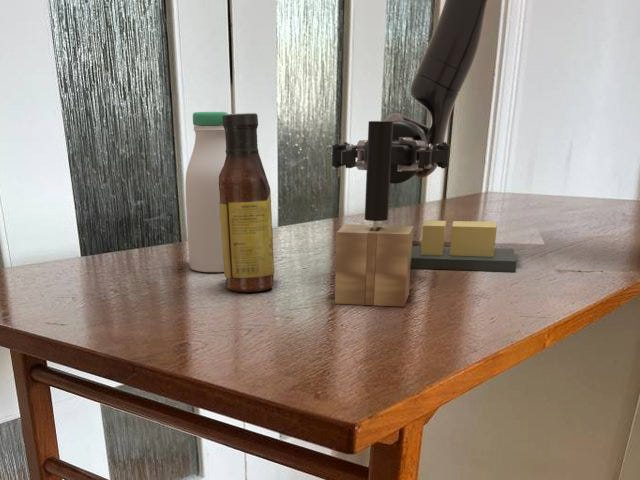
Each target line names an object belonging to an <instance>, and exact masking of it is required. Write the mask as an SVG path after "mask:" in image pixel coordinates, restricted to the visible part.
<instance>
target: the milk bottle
mask: <svg viewBox="0 0 640 480" xmlns="http://www.w3.org/2000/svg"><path fill="white" fill-rule="evenodd" d="M225 114H228V112H226V111H196V112H193V113H192V124H193V131H194V133H195V134H194V135H195V136H194V137H195V138H194V145H193V149H192V153H191V156H190V159H189V161H188V165H187V166H186V172H185V184H184V185H185V186H184V187H185V188H184V189H185V190H184V191H185V211H186V212H185V215H186V231H187V249H188V263H189V267H190V269H191V270H193V271H197V272H202V273H224V262H223V248H222V233H221V219H220V206H219V202H220V191H219V175H220V172H221V170H222V168H223V166H224V163H225V160H226V152H225V151H226V136H225V129H224V127H223V115H225Z"/></svg>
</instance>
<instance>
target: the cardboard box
mask: <svg viewBox="0 0 640 480" xmlns="http://www.w3.org/2000/svg"><path fill="white" fill-rule="evenodd" d="M335 233H336V234H335V235H336V237H335V238H336V240H335V279H334V280H335V281H334V304H335V305H336V304H337V305H355V306H356V305H357V306H375V307H399V308H405V306H406V303H407V301H408V298H409V296H410V281H411V270H412V268H411V254H412V246H413V238H414V237H413V236H414V226H413V225H389V224H387V225H386V224H384V225H383V224H378V231H373V224H344V225H343V226H341V228H340V229H338V230H337V231H336V232H335Z"/></svg>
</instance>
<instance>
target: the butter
mask: <svg viewBox="0 0 640 480" xmlns="http://www.w3.org/2000/svg"><path fill="white" fill-rule="evenodd" d="M446 229H447V220H425V221H424V223H423V224H422V231H421V233H422V234H421V245H412V254H411V269H419V270H442V271H443V270H444V271H446V270H447V271H475V272H500V273H501V272H503V273H504V272H506V273H515V272H516V271H517V257H516V253H515V249H514V248H499V247H496V240H497V239H496V238H497V229H498V225H497V221H471V220H470V221H468V220H467V221H465V220H453V221H452V224H451V235H450V245H449V246H445V243H446V241H445V240H446Z"/></svg>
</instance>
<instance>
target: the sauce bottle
mask: <svg viewBox="0 0 640 480" xmlns="http://www.w3.org/2000/svg"><path fill="white" fill-rule="evenodd" d="M258 119H259V117H258V114H257V112H243V113H241V112H240V113H227V114H225V115H223V127H224V129H225V136H226V151H225V152H226V160H225V163H224V166H223V168H222V170H221V172H220V175H219V191H220V202H219V206H220V219H221V233H222V248H223V262H224V272H223V273H224V278H225V286H226V289H228V290H231V291H233V292H235V293H237V292H239V293H257V292H262V291H267V290H270V289H271V288H273V286H274V284H275V283H274V281H275V280H274V277H275V275H274V274H275V260H274V257H275V256H274V231H273V215H272V214H273V212H272V195H271V194H272V193H271V192H272V191H271V187H270V184H269V180H268V177H267V175H266V171H265V168H264V165H263V162H262V159H261V156H260V152H259V148H258V145H259V144H258V126H259V120H258Z"/></svg>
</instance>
